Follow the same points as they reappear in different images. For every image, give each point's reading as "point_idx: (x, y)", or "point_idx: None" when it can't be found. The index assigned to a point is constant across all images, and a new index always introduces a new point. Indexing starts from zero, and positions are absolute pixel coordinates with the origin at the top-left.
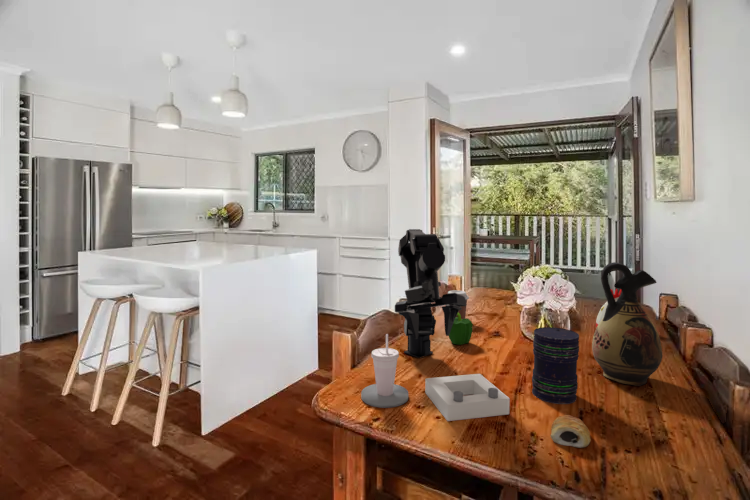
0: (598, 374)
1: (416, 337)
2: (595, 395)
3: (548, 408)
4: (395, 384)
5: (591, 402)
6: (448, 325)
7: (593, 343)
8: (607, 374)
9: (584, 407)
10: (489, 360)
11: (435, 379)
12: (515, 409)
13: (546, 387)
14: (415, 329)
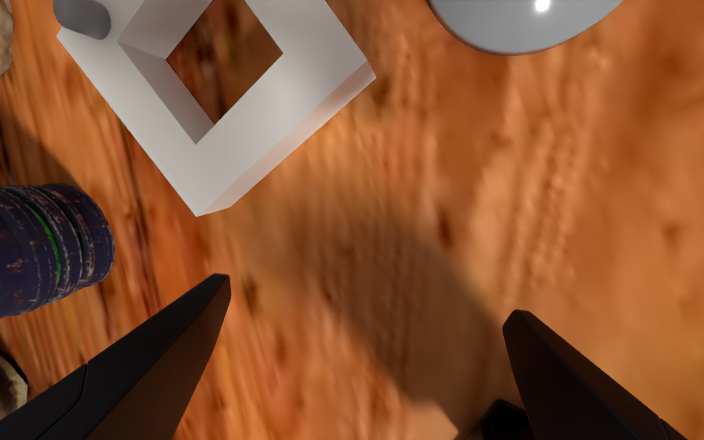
0: (38, 389)
1: (513, 322)
2: None
3: (58, 146)
4: (514, 46)
5: None
6: (135, 337)
7: None
8: (4, 374)
9: None
10: (263, 427)
11: (322, 72)
12: None
13: (20, 189)
14: (559, 392)
